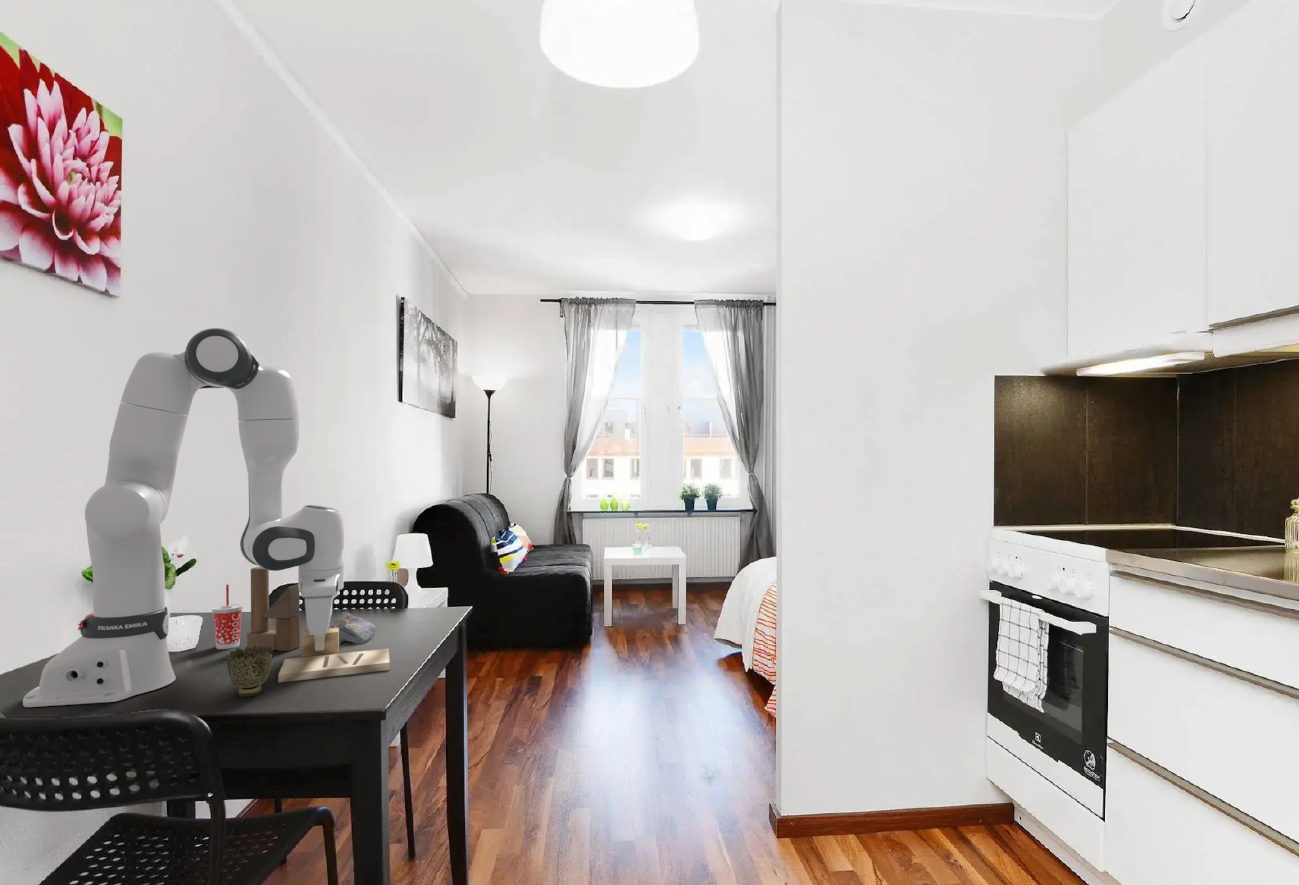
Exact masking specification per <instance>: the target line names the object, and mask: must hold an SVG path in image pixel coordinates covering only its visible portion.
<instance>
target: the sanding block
mask: <svg viewBox="0 0 1299 885" xmlns="http://www.w3.org/2000/svg"><path fill="white" fill-rule="evenodd" d="M301 633H302V634H301V657H311V656H321V655H330V654H340V653H339V651H340V649H339V648H340V644H339V628H332V627H330V628H328V632H327V634H325V647H324V650H320V651H316V650H315V640H314V635H309V634H308V630H307V629H305V630H302V632H301Z"/></svg>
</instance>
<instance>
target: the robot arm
mask: <svg viewBox="0 0 1299 885" xmlns="http://www.w3.org/2000/svg"><path fill="white" fill-rule="evenodd" d="M224 388H226V389H228V390H230V391H231V392H232V394H233V395H234V397H235V399H236V400H235V401H236V404H237V419H238V420H237V421H238V422H237V423H238V432H239V440H240V444H241V449H242V453H243V457H244V461H245V466H246V470H247V479H248V520H247V523H246V525H245V527H244V529H243V532H242V535H241V537H240V542H239V546H240V551H241V554H242V555H243V557H244V558H245V559H246V560H247V562H249V563H250V564H252V565H254V566H256V567H262V568H264V569H267V570H269V571H273V572H278V571H283V570H287V569H288V570H289V569H291V568H295V567H297V568H298V569H297V570H298V578H297V582H298V583H297V585H298V591H299V593H300V595H301V598H302V599H303V598H304V609H305V610H304V611H305V620H306V621H305V622H306V628H307V629H306V630H308V634H309V635H314V640H315V650H316V651H320V650H324V647H325V634H327V632H328V629H329V627H330V623H331V618H332V614H333V602H334V599H335V598H336V597H338V592H340V591H341V590H342V589H344V585H345V584H344V583H345V582H344V580H345V578H344V574H345V573H344V572H345V571H344V570H345V565H344V561H343V550H344V547H345V535H344V533H345V532H344V521H343V517H342V513H340V511H339V510H337V509H335V508H333V507H328V506H321V505H312V504H308V505H304V506H303V507H302V508H301V509H299V510H298V511H296V512H294V513H293V514H291V515H289V516H287V517H285V518H284V515H283V489H282V487H283V486H282V484H283V476H284V472H285V470H286V468H287V466H288V464H290V461H291V460H292V459H293V457H294V456H295V454H296V453H297V450H298V444H299V437H300V417H299V408H298V407H299V405H298V401H297V394H296V391H295V387H294V383H293V379H292V377H291V375H290V374H289V372H287V371H286V370H284V369H282V368H279V367H277V366H273V365H260V363H259V361H258V359H257V358H256V356H255V354H254V353H253V352H252V351H251V349H250V348H249V346H248V345H247V343H246V342H245V341H244V339H242V338H241V337H240V336H239V335H237V333H235V332H233V331H231V330H227V329H225V328H218V327H213V328H207V329H204V330H201V331H199V332H197V333H196V334H194V335H193V336H192V337H191V338H190V340H188V342H187V345H186V348H185V351H183V352H181V353H178V354H172V353H169V352H149V353H146V354H144V355H142V356H141V357H140V358H139V359H138V360H137V361H136V363H135V365H134V367H133V369H132V370H131V373H130V374H129V377H128V379H127V382H126V384H125V387H124V389H123V393H122V395H121V399H120V403H119V406H118V410H117V414H116V417H115V422H114V426H113V429H112V432H111V433H112V434H111V437H110V439H109V444H108V446H109V454H108V461H107V462H108V463H107V471H106V477H105V482H104V485H103V486H101V487H100V488H98V489H96V491H94V492H93V493H92V495H91V496H89V499H88V501H87V502H86V505H85V507H84V508H85V509H84V518H85V523H86V526H85V527H86V536H87V542H88V543H87V544H88V551H89V557H90V561H91V569H92V603H93V604H92V606H93V607H92V608H93V609H92V611H93V612H91V613H89V614H86V616H85V617H84V619H82V620H81V621H80V623H78V624H77V625H78V628H77V630H78V631H79V632H80V635H81V636H80V637H78V638H77V639H76V640H75V641H73V642H72V643H70V644H69V645H68V646H67V647H65V648H64V649H63V650H61V651H60V652H59V653H57V654H56V655H55V656H54V657H53V658H51V659H50V660H49V661H48V662H47V663H46V664H45V666H44V668H43V669H42V672H41V676H40V680H39V685H38V686H37V687H35V688H33V689H32V690H30V691H28V692H27V693H26V694H25V695H24V697H23V699H22V706H23V707H24V708H36V707H48V706H49V707H50V706H67V705H69V706H70V705H83V704H97V703H98V704H101V703H111V702H112V703H113V702H119V701H122V700H125V699H129V698H130V697H133V696H136V695H141V694H144V693H148V692H151V691H155V690H157V689H160V688H163V687H166V686H168V685H170V684H172V683H173V682H175V680H176V675H175V672H174V669H173V667H172V663H171V659H170V654H169V648H168V647H169V646H168V640H167V637H168V635H169V614H168V613H169V612H168V607H167V606H166V598H165V597H166V587H165V586H166V585H165V584H166V582H165V581H166V578H165V577H166V576H165V572H166V571H165V570H166V568H165V562H164V554H163V548H162V547H163V546H162V536H161V524H162V523H163V522H164V520H165V519H166V517H167V514H168V510H169V506H170V502H171V497H172V492H173V488H174V484H175V476H176V470H177V467H178V466H177V464H178V458H179V454H180V451H181V447H182V446H181V445H182V442H183V438H184V434H185V429H186V425H187V423H188V422H187V421H188V418H189V414H190V410H191V406H192V402H193V399H194V397H195V394H196V393H197V391H198V390H199V389H200V390H201V389H224Z"/></svg>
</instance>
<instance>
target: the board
mask: <svg viewBox="0 0 1299 885" xmlns="http://www.w3.org/2000/svg"><path fill="white" fill-rule="evenodd" d="M390 663H391V662H390V648H381V649H372V650H371V649H370V650H362V651H351V652H341V653H338V654H330V655H321V656H311V657H302V656H301V657H295V658H284V660H283V663H282V665H281V668H280V670H279V672H278V676H277V678H278V681H277V682H278V683H287V682H295V681H304V680H312V679H313V680H314V679H320V678H331V677H340V676H348V675H356V674H357V675H358V674H367V673H375V672H376V673H377V672H383V671H390V670H391V667H390V666H391V665H390Z"/></svg>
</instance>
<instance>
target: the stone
mask: <svg viewBox="0 0 1299 885" xmlns="http://www.w3.org/2000/svg"><path fill="white" fill-rule="evenodd" d="M331 628H339V645H340V644H341V643H342V642H351V643H352V644H357V645H358V644H367V643H368V642H370V641H371V640H372V639H374V637H375V635H376V634H375V633H376V626H375V625H374V624H373V623H372V622H371V621H369V620H366V619H365V618H362V617H359V616H355V615H353V614H352V613H350V612H347V611H343V612H342V613H340V614H339V615H338V616H337V618H335V620H333V622H332V625H331Z"/></svg>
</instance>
